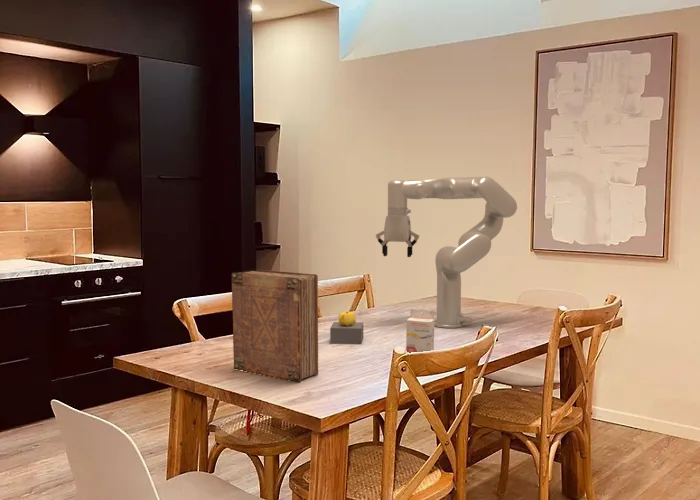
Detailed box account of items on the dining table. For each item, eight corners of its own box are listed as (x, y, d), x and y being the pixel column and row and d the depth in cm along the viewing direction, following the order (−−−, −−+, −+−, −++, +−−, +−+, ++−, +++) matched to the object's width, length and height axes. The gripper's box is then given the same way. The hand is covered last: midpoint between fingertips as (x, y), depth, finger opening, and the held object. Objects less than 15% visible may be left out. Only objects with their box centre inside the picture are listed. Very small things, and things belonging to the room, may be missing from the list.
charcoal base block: (363, 338, 254) (363, 322, 253) (361, 345, 243) (361, 328, 242) (333, 338, 255) (333, 322, 254) (330, 344, 244) (330, 328, 243)
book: (319, 375, 203) (318, 274, 200) (300, 382, 195) (299, 278, 192) (253, 363, 216) (252, 269, 214) (233, 370, 209) (231, 272, 206)
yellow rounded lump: (346, 322, 253) (346, 308, 253) (359, 324, 250) (359, 310, 249) (332, 325, 247) (332, 311, 247) (345, 327, 244) (345, 313, 243)
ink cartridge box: (405, 354, 227) (405, 310, 226) (409, 351, 232) (409, 308, 231) (431, 356, 225) (431, 312, 223) (434, 353, 229) (434, 309, 228)
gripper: (421, 212, 267) (421, 256, 268) (379, 211, 273) (378, 254, 274) (416, 213, 260) (416, 258, 261) (373, 212, 266) (373, 256, 267)
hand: (397, 256), depth 268 cm, fingers open, 9 cm apart
